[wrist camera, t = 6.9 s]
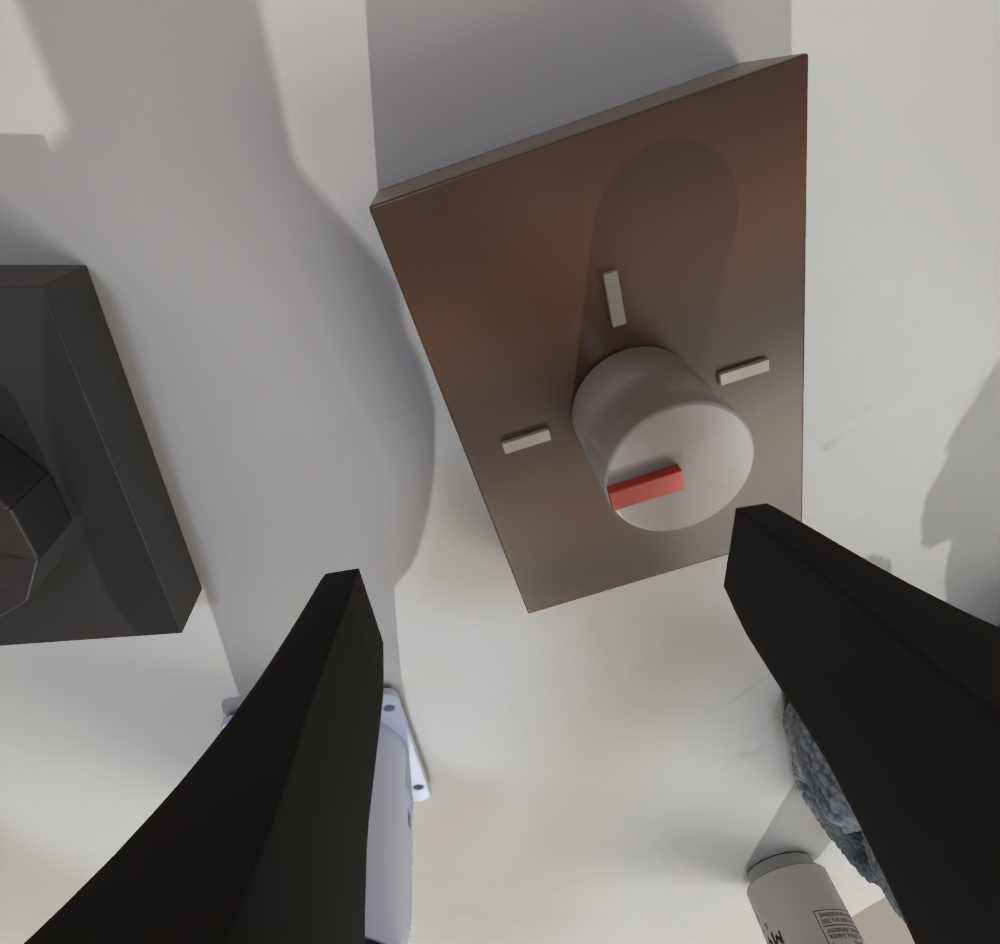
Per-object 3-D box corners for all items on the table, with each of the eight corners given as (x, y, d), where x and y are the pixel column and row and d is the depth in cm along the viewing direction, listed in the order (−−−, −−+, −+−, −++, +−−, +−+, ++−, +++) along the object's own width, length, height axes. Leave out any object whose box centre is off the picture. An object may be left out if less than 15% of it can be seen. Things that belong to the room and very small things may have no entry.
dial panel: (759, 484, 22) (805, 535, 19) (516, 558, 23) (529, 617, 20) (741, 62, 14) (813, 51, 12) (376, 190, 15) (367, 208, 12)
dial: (687, 327, 15) (759, 385, 12) (701, 438, 17) (766, 513, 14) (557, 370, 15) (594, 439, 12) (586, 474, 17) (623, 557, 14)
